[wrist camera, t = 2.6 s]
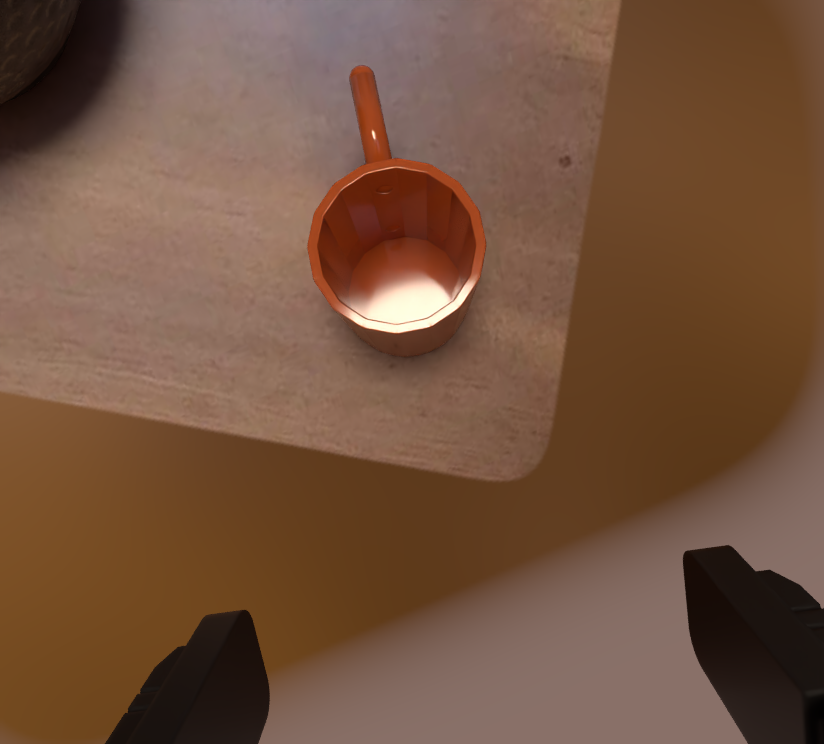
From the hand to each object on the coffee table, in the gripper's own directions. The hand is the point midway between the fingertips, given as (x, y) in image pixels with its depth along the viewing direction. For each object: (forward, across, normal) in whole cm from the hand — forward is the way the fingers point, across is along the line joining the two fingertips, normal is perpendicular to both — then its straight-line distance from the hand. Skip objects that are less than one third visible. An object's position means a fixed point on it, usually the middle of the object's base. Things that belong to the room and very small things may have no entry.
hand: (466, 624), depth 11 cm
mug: (+24, +2, -7) cm, 25 cm away
